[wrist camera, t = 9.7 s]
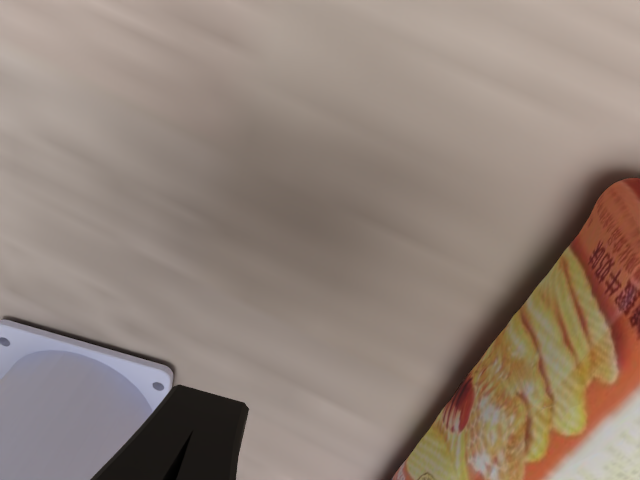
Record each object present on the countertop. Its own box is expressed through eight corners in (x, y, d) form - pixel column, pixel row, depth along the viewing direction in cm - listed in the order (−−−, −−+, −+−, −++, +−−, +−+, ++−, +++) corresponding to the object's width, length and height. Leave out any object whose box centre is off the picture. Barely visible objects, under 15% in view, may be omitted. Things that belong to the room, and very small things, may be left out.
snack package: (459, 564, 30) (467, 737, 24) (334, 517, 29) (310, 680, 23) (812, 226, 18) (1013, 404, 12) (608, 137, 17) (706, 273, 11)
